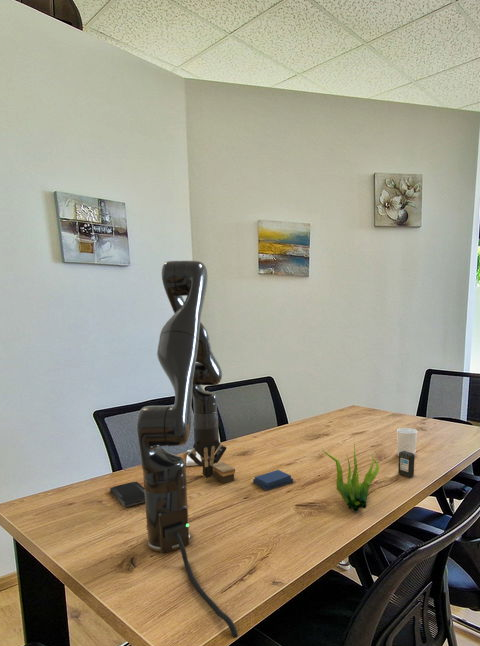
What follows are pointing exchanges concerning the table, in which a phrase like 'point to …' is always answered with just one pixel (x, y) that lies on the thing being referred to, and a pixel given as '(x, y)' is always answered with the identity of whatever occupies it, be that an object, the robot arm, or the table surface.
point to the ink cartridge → (406, 463)
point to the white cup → (406, 440)
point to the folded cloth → (272, 479)
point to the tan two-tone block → (223, 472)
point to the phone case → (191, 463)
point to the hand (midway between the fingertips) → (208, 476)
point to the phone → (129, 494)
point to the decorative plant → (354, 484)
